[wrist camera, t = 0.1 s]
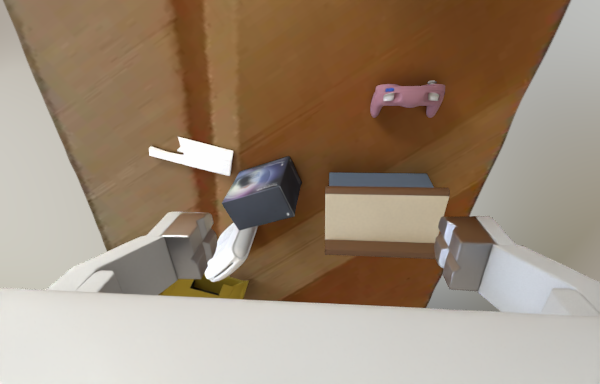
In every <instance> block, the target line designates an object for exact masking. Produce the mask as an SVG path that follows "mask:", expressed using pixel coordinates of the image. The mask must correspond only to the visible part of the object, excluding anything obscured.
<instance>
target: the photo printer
mask: <svg viewBox="0 0 600 384" xmlns="http://www.w3.org/2000/svg"><path fill="white" fill-rule="evenodd" d="M257 227H258V226H255V227H251V228H247V229H243V230H238V228H237V227H236V225H235V224H234V223H233V224H231V225H230V226H229V227H228V228H227V229H226V230H225V231H224V232H223V233H222V234H221V236H220V237H219V239H218V242H217V247H216V252H215V254H214V256H213V258H211V259H210V260H209V261H208V267H207V269H206V271H205V277H206V278H207V279H209V280H210V281H211V282H216V281H220V280H222V279H224V278H226V277H227V276H229V275H230V274H232V273H233V272H234V271H235V270H237V269H238V268H239V267H240V266H241V265H242V264H243V263H244V261H245V260H246V259H247V257H248V254H249V251H250V248H251V245H252V243H253V240H254V237H255V234H256V231H257Z"/></svg>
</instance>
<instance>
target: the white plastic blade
mask: <svg viewBox="0 0 600 384" xmlns="http://www.w3.org/2000/svg"><path fill="white" fill-rule="evenodd" d="M178 139H179V142H180V146H181V147H180V148H179V149H178V150H177V151H180V152H184V154H176V153H171V152H167V151H164V150H161V149H158V148H155V147H153V146H151V147H149V156H153V157H157V158H161V159H165V160H169V161H172V162H176V163H180V164H184V165H187V166H191V167H196V168H198V169H199V168H200V169H202V170H203V169H204V170H208V171H209V172H210V171H211V172H215V173H219V174H223V175H227V176H230V174H231V167H232V159H233V151H232V150H228V149H224V148H220V147H216V146H212V145H209V144H205V143H201V142H197V141H193V140H189V139H185V138H182V137H178Z"/></svg>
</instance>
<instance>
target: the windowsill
mask: <svg viewBox="0 0 600 384" xmlns="http://www.w3.org/2000/svg"><path fill="white" fill-rule="evenodd" d="M449 195H450V190H449V188H434V187H433V185H432V183H431V181H430V179H429V177H428V175H427V174H413V173H329V186H326V187H325V255H350V256H375V257H401V258H426V259H436V257H435V249H434V245H435V239H436V237H437V236H438V234H439V228H438V225H439V221H440V219H441V217H443V216H444V213H445V209H446V206H447V202H448V199H449Z"/></svg>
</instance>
